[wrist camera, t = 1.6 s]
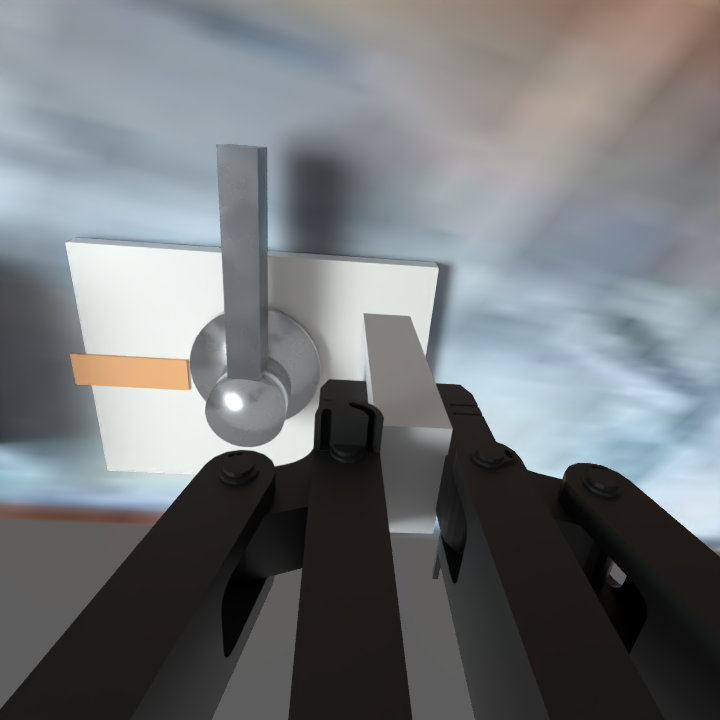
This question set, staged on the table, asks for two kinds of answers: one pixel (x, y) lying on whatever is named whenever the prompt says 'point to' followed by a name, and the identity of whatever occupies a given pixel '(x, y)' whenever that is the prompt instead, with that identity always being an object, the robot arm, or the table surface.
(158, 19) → the table surface
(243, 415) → the grey metal lever
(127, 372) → the base plate
